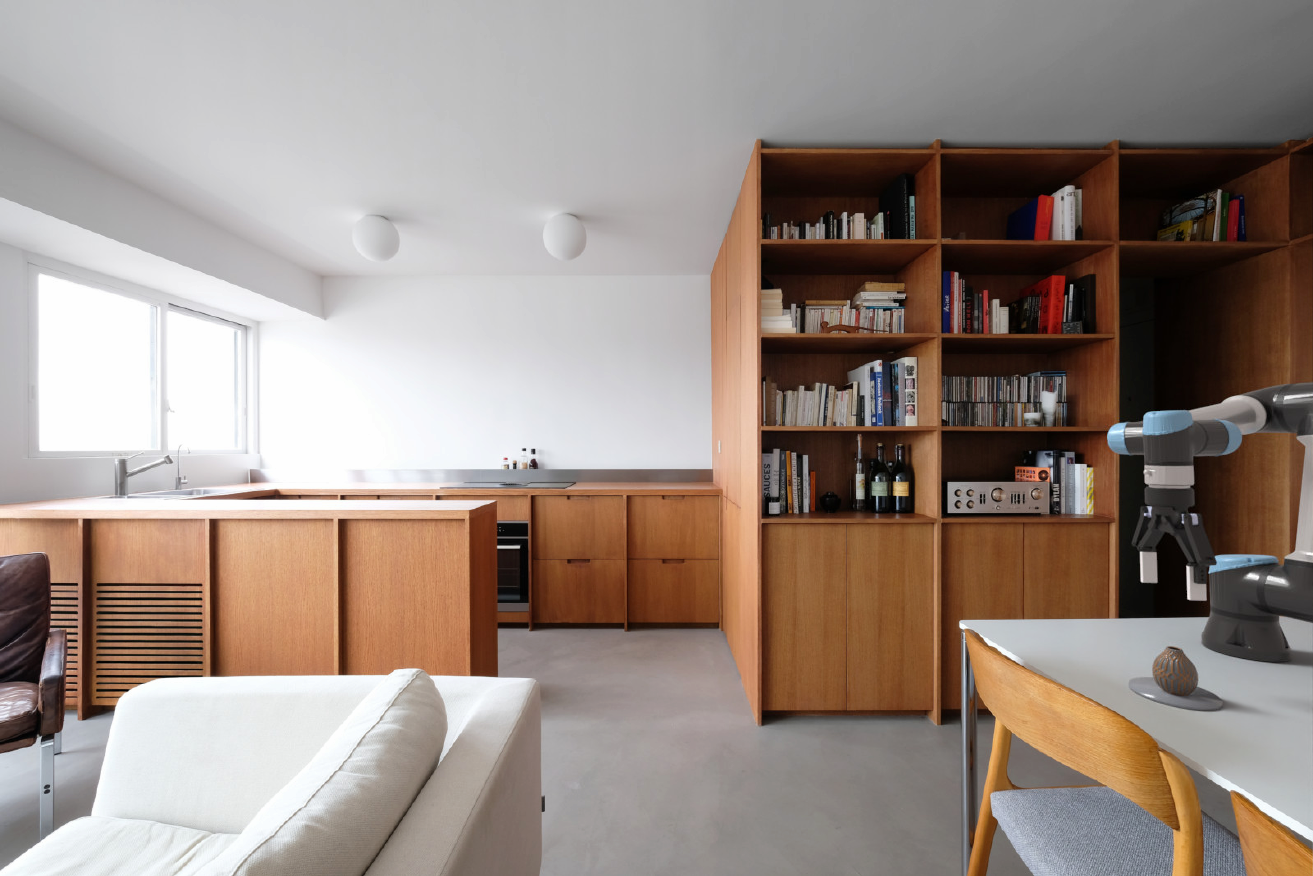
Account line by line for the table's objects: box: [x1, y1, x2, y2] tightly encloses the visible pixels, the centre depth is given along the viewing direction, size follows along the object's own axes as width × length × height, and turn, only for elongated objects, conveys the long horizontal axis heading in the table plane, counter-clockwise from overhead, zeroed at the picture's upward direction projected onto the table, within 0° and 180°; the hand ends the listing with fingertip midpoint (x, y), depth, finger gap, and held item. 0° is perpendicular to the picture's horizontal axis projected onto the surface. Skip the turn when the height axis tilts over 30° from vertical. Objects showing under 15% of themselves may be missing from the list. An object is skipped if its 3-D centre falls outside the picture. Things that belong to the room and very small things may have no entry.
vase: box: [1151, 645, 1199, 696], centre depth 115 cm, size 7×7×9 cm
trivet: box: [1128, 676, 1223, 712], centre depth 115 cm, size 14×14×1 cm
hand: (1171, 590), depth 116 cm, fingers open, 13 cm apart
